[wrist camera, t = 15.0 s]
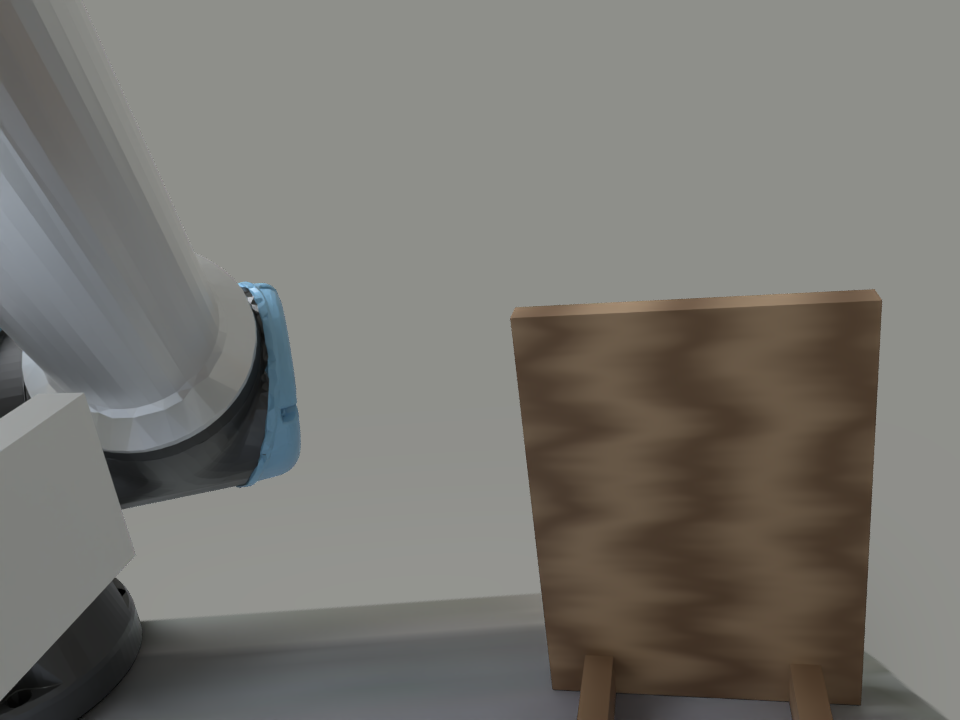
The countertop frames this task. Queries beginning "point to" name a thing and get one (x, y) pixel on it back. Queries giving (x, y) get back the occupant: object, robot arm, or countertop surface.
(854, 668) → the wooden cup stand
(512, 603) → the countertop surface
